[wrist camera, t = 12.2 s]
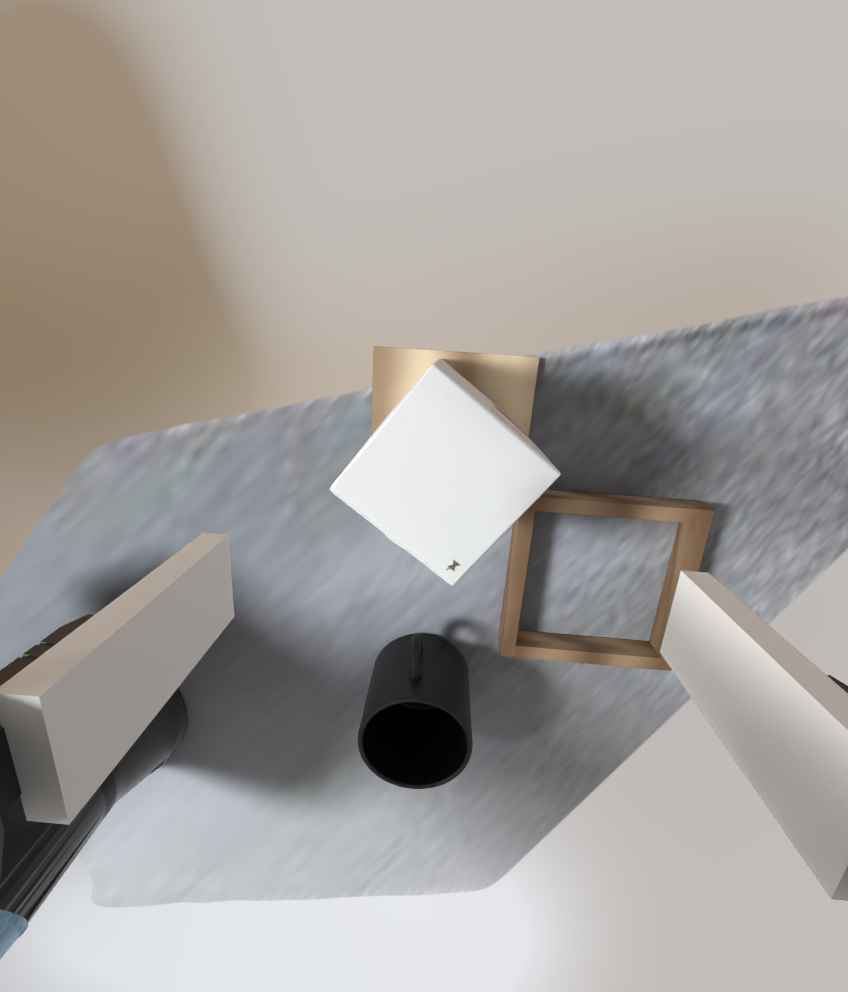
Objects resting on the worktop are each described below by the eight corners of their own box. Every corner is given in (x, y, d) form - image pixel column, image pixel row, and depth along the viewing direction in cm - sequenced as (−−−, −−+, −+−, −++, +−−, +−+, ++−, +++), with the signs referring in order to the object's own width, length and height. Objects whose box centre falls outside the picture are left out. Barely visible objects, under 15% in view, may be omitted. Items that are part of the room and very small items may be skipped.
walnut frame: (498, 639, 45) (500, 655, 42) (518, 487, 40) (522, 496, 38) (659, 653, 44) (671, 670, 42) (699, 500, 40) (715, 510, 37)
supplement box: (524, 428, 38) (569, 477, 24) (452, 506, 40) (453, 594, 26) (440, 353, 36) (434, 357, 22) (370, 439, 39) (324, 492, 25)
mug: (469, 609, 44) (474, 672, 35) (467, 711, 48) (471, 792, 39) (370, 607, 44) (351, 670, 36) (376, 709, 48) (360, 788, 40)
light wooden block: (370, 500, 41) (369, 502, 41) (374, 346, 37) (373, 346, 37) (517, 511, 41) (518, 513, 40) (537, 357, 37) (539, 357, 36)
